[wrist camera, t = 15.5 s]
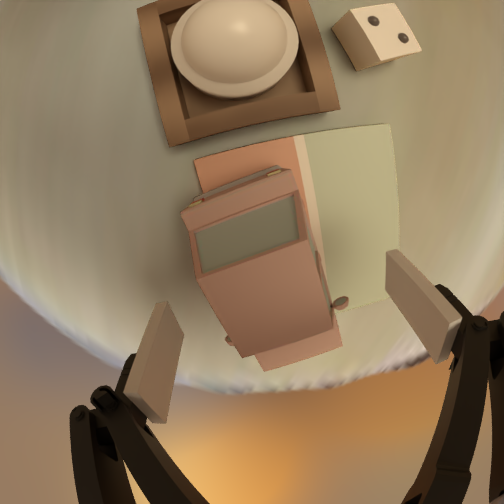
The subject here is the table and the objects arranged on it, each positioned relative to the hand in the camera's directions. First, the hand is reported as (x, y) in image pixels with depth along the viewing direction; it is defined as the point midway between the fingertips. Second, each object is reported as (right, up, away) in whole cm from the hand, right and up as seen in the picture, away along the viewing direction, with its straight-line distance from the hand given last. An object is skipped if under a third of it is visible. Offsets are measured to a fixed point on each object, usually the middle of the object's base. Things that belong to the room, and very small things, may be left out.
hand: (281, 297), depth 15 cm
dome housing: (-3, +18, +1) cm, 18 cm away
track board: (+4, +4, +8) cm, 10 cm away
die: (+8, +20, +1) cm, 22 cm away
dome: (-3, +17, +1) cm, 17 cm away
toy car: (0, +2, +8) cm, 8 cm away
